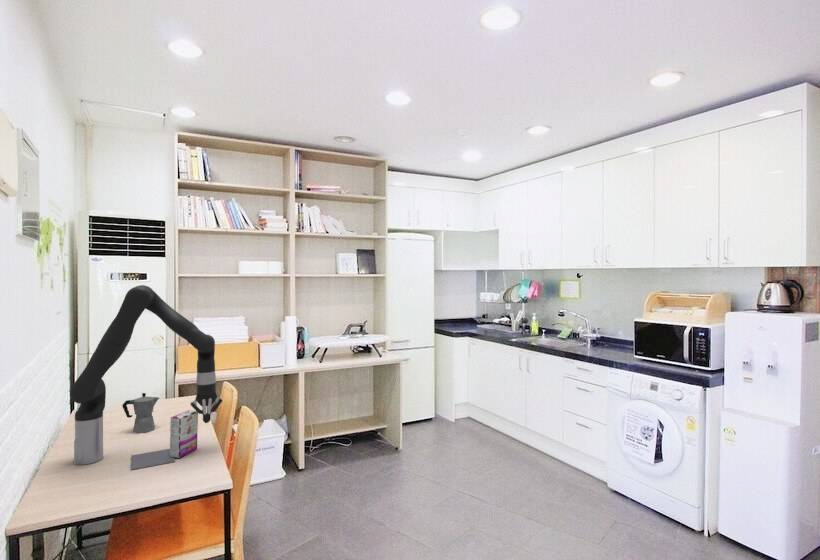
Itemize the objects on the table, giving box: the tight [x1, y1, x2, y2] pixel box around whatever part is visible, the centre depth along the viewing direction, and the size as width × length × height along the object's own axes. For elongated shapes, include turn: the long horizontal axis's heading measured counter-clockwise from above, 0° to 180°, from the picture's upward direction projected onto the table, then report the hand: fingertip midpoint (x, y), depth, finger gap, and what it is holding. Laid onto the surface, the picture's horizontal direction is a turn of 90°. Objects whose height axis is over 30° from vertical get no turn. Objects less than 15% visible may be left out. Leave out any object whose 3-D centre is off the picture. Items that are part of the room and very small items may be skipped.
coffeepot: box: [122, 392, 160, 434], centre depth 216 cm, size 15×9×18 cm, turn 129°
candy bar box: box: [169, 409, 199, 459], centre depth 188 cm, size 11×5×16 cm, turn 168°
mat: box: [130, 448, 176, 471], centre depth 182 cm, size 15×16×1 cm
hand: (206, 422), depth 192 cm, fingers closed
